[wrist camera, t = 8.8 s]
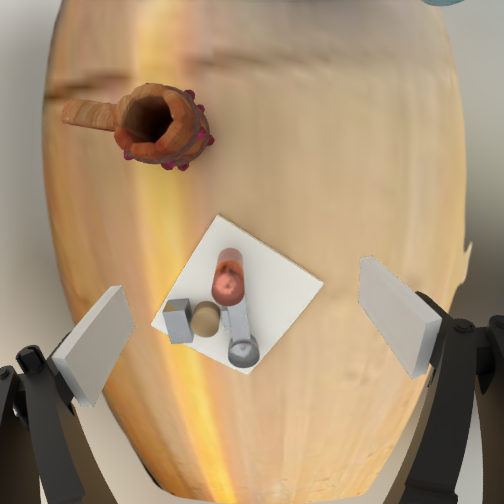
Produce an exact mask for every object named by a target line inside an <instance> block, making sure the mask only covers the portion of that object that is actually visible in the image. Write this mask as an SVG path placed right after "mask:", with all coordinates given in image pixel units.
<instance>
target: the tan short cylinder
mask: <svg viewBox="0 0 504 504" xmlns="http://www.w3.org/2000/svg"><path fill="white" fill-rule="evenodd" d="M219 322H220V309H219V307H218V306H217V305H216V304H215V303H213V302H211V301H203V302H200V303H199V304H198V305H197V306H196V307H195V310H194V314H193V318H192V321H191V328H192V330H193V332H194V333H195V334H197V335H198V336H200V337H205V338H207V337H212V336H214V335H215V334H216V333H217V332H218V330H219Z"/></svg>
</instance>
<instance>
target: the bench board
mask: <svg viewBox="0 0 504 504" xmlns="http://www.w3.org/2000/svg"><path fill="white" fill-rule="evenodd" d="M226 248H234V249H237V250H238V251H239V252H240V253H241V254H242V256H243V269H244V287H245V298H246V306H247V314H248V322H249V330H250V337H251V338H253V339H255V340H256V341H257V343H258V345H259V353H260V358H259V361H258V362H257V363H256V364H255V365H254V366H252V367H249V368H238V367H235V366H234V365H232V364H231V363H230V362H229V360H228V346H229V343H230V342H231V341H232V340H233V339H232V333H231V330H228V331H225V330H224V324H223V319H222V313H221V309H222V305H220V304H218V303H217V302H216V301H215V300H214V299H213V297H212V294H211V289H212V284H213V279H214V274H215V269H216V264H217V260H218V256H219V254H220V252H221V251H222V250H224V249H226ZM323 285H324V283H323V282H322V280H320V279H319V278H317V277H316V276H314V275H313V274H311V273H309V272H308V271H306V270H305V269H303V268H302V267H300V266H299V265H297V264H296V263H294V262H293V261H291V260H290V259H288V258H286V257H285V256H283V255H282V254H280V253H279V252H277V251H276V250H274V249H273V248H271V247H269V246H268V245H266V244H265V243H263V242H262V241H260V240H259V239H257V238H255V237H254V236H252V235H251V234H249V233H248V232H246V231H245V230H243V229H241V228H240V227H238V226H237V225H235V224H234V223H232V222H230V221H229V220H227V219H226V218H224V217H223V216H221V215H219V214H217V216H216V217H215V219H214V221H213V222H212V224H211V225H210V227H209V228H208V230H207V231H206V233H205V235H204V236H203V238H202V239H201V241H200V243H199V244H198V246H197V247H196V249H195V251H194V252H193V254H192V255H191V257H190V259H189V260H188V262H187V264H186V265H185V267H184V269H183V270H182V272H181V274H180V275H179V277H178V279H177V280H176V282H175V284H174V285H173V287H172V289H171V290H170V292H169V294H168V295H167V297H166V299H165V301H164V302H163V304H162V306H161V307H160V309H159V311H158V313H157V314H156V316H155V318H154V320H153V321H152V323H151V326H153V327H155V328H156V329H158V330H160V331H162V332H163V333H165V334H167V335H168V331H167V328H166V324H165V321H164V317H163V314H162V311H163V309H164V307H165V305H166V303H167V301H168V300H174V299H185V298H189V302H190V306H191V311H192V315H193V314H194V310H195V307H196V306H197V305H198V304H199V303H200V302H203V301H211V302H213V303H215V304H216V305H217V306H218V307H219V309H220V322H219V330H218V332H217V333H216V334H215V335H214V336H212V337H207V338H205V337H200V336H198V335H197V334H194V338H193V343H183V344H185V345H187V346H189V347H191V348H193V349H194V350H196V351H198V352H200V353H202V354H204V355H206V356H208V357H210V358H212V359H214V360H216V361H218V362H220V363H222V364H224V365H227V366H229V367H231V368H233V369H235V370H237V371H239V372H242V373H244V374H246V375H248V374H249V373H250V372H251V371H252V369H253V368H254V367H255V366H256V365H257V364H258V363H259V362H260V361H261V359H262V358H263V357H264V356H265V355H266V354H267V353H268V351H269V350H270V349H271V348H272V347H273V346H274V345H275V343H276V342H277V341H278V340H279V339H280V338H281V336H282V335H283V334H284V333H285V332H286V330H287V329H288V328H289V327H290V326H291V324H292V323H293V322H294V321H295V320H296V318H297V317H298V316H299V315H300V314H301V312H302V311H303V310H304V309H305V307H306V306H307V305H308V304H309V302H310V301H311V300H312V299H313V297H314V296H315V295H316V294H317V292H318V291H319V290H320V288H321V287H322V286H323Z"/></svg>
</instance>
